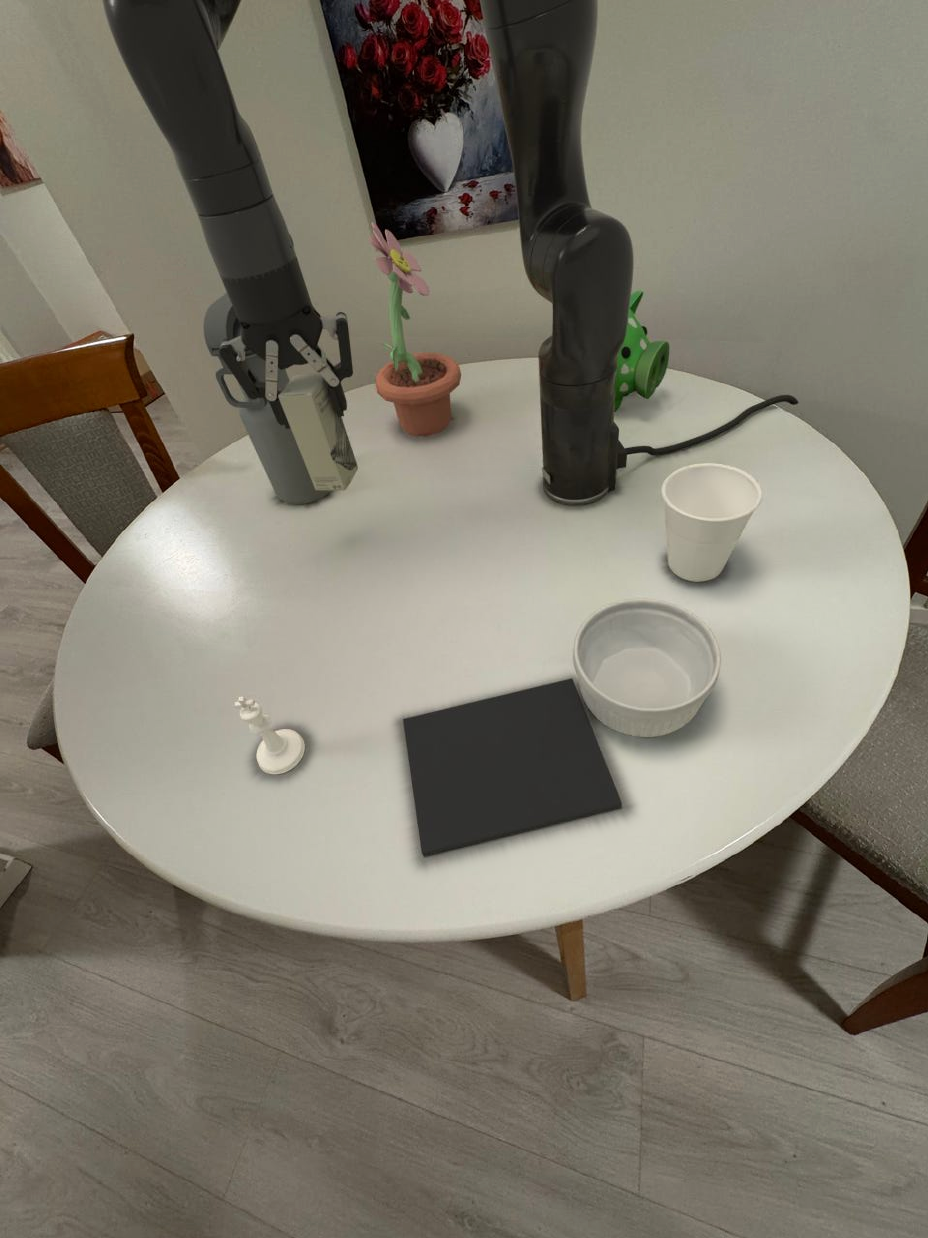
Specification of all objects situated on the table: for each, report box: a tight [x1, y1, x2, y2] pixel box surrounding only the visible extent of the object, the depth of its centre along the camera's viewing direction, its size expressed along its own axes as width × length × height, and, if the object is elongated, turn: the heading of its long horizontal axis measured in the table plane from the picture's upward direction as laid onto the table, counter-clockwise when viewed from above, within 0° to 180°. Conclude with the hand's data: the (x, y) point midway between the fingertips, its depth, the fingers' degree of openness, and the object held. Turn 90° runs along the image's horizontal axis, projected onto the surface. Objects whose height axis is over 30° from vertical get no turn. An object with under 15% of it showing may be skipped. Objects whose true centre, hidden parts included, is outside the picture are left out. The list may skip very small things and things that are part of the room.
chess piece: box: [234, 696, 306, 775], centre depth 56 cm, size 5×5×10 cm
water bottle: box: [203, 292, 331, 505], centre depth 81 cm, size 10×10×28 cm
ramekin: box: [572, 598, 722, 738], centre depth 56 cm, size 13×13×7 cm
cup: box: [661, 462, 763, 583], centre depth 65 cm, size 10×10×11 cm
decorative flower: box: [369, 221, 462, 437], centre depth 88 cm, size 15×14×30 cm
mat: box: [402, 678, 623, 857], centre depth 56 cm, size 18×14×1 cm
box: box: [278, 373, 359, 491], centre depth 70 cm, size 5×4×13 cm
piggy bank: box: [550, 290, 670, 414], centre depth 91 cm, size 14×18×15 cm
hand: (315, 418), depth 68 cm, fingers closed on box, 5 cm apart
